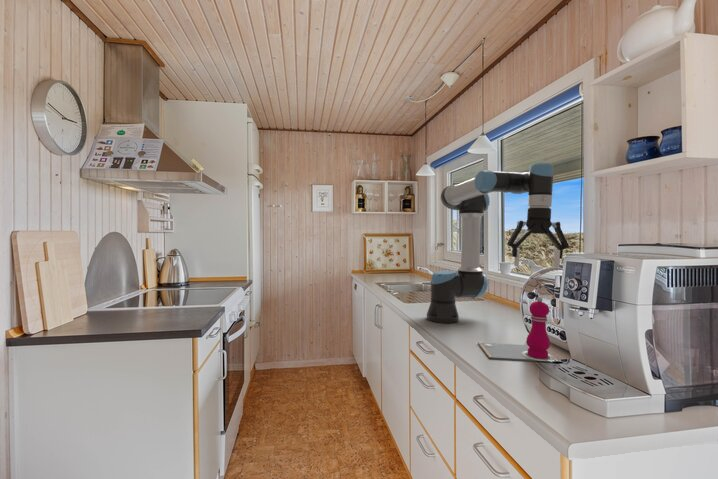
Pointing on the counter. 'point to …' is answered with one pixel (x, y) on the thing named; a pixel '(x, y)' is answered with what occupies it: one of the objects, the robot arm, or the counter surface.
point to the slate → (509, 352)
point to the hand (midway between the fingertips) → (536, 267)
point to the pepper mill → (538, 330)
